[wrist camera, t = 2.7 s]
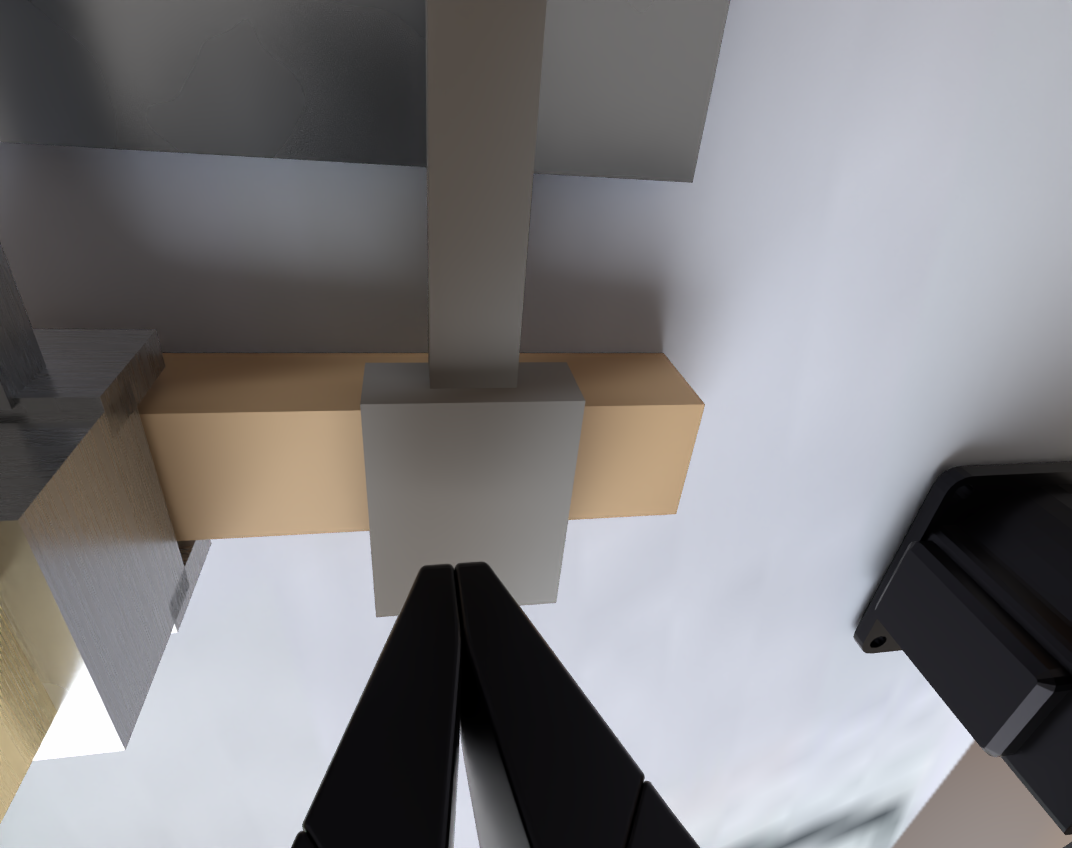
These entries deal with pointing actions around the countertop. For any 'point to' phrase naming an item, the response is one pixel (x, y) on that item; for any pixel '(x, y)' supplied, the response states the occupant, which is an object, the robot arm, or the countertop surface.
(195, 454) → the beam
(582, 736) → the robot arm
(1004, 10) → the countertop surface
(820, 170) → the countertop surface
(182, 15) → the bolt plate
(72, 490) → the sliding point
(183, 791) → the countertop surface
